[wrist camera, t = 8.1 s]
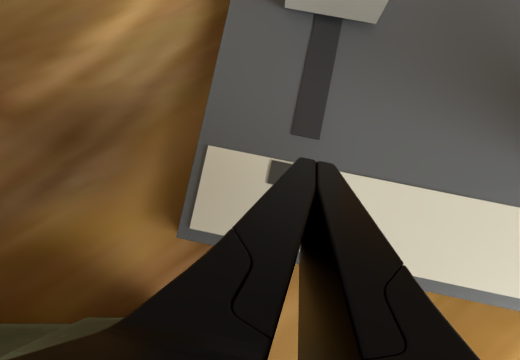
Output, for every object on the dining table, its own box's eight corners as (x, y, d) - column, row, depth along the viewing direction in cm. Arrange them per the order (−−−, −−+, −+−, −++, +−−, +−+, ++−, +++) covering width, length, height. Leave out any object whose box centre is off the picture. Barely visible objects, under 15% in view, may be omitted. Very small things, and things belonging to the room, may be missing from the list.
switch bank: (676, 341, 15) (728, 356, 14) (184, 235, 17) (174, 237, 15) (702, 48, 17) (752, 28, 15) (245, -31, 18) (242, -58, 16)
